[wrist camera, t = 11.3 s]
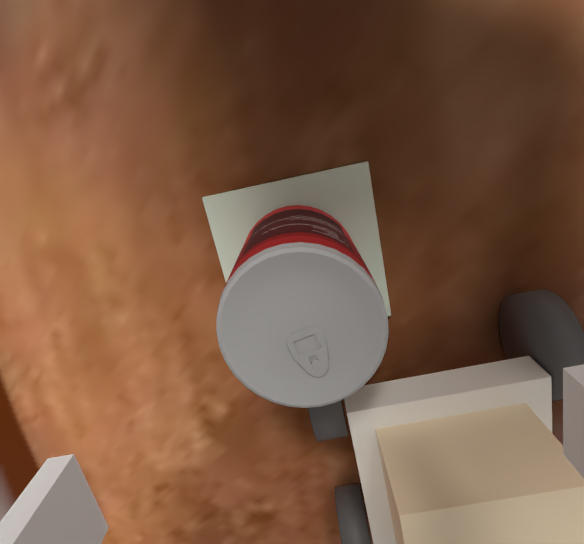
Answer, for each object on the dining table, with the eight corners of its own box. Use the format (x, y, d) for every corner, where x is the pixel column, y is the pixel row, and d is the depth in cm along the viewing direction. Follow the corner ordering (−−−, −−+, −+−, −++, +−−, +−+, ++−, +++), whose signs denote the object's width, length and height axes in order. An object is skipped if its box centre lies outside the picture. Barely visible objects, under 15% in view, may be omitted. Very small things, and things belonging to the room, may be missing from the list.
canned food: (292, 332, 30) (291, 437, 20) (218, 250, 28) (175, 318, 18) (378, 270, 29) (426, 348, 18) (307, 178, 27) (316, 208, 16)
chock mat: (203, 196, 28) (202, 197, 27) (367, 161, 27) (368, 161, 26) (243, 341, 31) (243, 344, 31) (390, 313, 30) (391, 315, 30)
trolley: (297, 318, 30) (307, 687, 10) (524, 274, 29) (1040, 590, 9) (345, 528, 37) (409, 1006, 17) (532, 499, 36) (842, 972, 16)
